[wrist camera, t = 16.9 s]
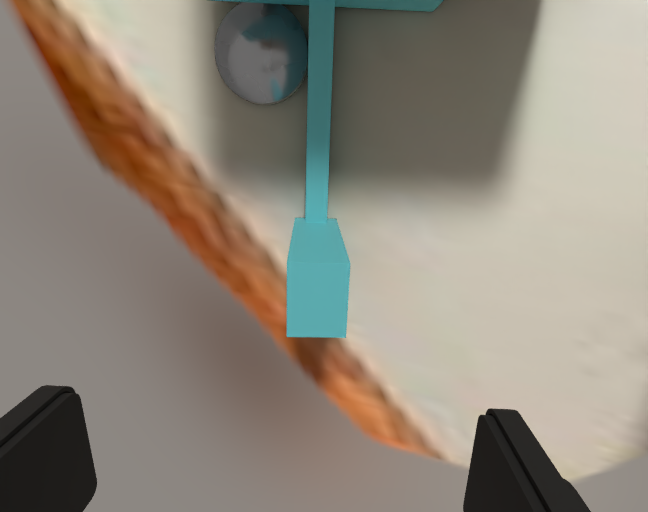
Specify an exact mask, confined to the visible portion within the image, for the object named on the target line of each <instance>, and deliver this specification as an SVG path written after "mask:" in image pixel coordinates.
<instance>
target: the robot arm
mask: <svg viewBox="0 0 648 512" xmlns="http://www.w3.org/2000/svg"><path fill="white" fill-rule="evenodd" d="M96 487H97V478H96V474H95V469H94V463H93V458H92V453H91V449H90V443H89V438H88V434H87V429H86V423H85V418H84V413H83V408H82V404H81V399H80V396H79V395H78V394H76V393H75V391H74V389H73V388H72V387H68V386H49V385H46V386H42V387H40V388H38V389H37V390H36V391H34V392H33V393H32V394H31V395H29V396H28V397H27V398H26V399H24V400H23V401H22V402H20V403H19V404H18V405H17V406H15V407H14V408H13V409H12V410H10V411H9V412H8V413H7V414H5V415H4V416H3V417H2V418H0V512H83V510H84V509H85V508H86V506H87V505H88V503H89V502H90V501H91V499H92V497H93V496H94V493H95V490H96ZM463 511H464V512H591V511H590V510H589V508H588V507H587V506H586V504H585V503H584V501H583V500H582V498H581V497H580V495H579V494H578V492H577V491H576V490H575V488H574V487H573V486H572V485H571V484H570V483H569V482H568V481H567V480H565V479H563V478H562V477H561V475H560V474H559V472H558V471H557V469H556V468H555V466H554V465H553V463H552V462H551V460H550V459H549V457H548V456H547V454H546V453H545V451H544V450H543V448H542V447H541V445H540V444H539V442H538V441H537V439H536V438H535V436H534V435H533V433H532V432H531V430H530V429H529V427H528V426H527V424H526V423H525V421H524V420H523V418H522V417H521V415H520V414H519V413H518V411H516V410H510V409H488V410H487V412H486V415H480V416H479V418H478V423H477V428H476V434H475V440H474V446H473V452H472V458H471V463H470V469H469V475H468V481H467V487H466V493H465V498H464V505H463Z"/></svg>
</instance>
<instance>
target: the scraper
mask: <svg viewBox="0 0 648 512" xmlns="http://www.w3.org/2000/svg"><path fill="white" fill-rule="evenodd" d="M212 1H231V2H251V3H271V4H290V5H309V43H308V99H307V154H306V210H305V218H295V222H294V227H293V233H292V238H291V243H290V249H289V254H288V259H287V337H340V338H346V328H347V311H348V294H349V277H350V261H349V258H348V255H347V251H346V248H345V245H344V242H343V239H342V236H341V232H340V229H339V226H338V223H337V220H336V219H328V218H327V205H328V178H329V151H330V123H331V96H332V69H333V41H334V14H335V7H349V8H368V9H388V10H408V11H427V12H433V11H434V10H435V9H436V8H437V7H438V6H439V5H440V4H441V3H442V2H443V1H444V0H212Z"/></svg>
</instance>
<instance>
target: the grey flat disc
mask: <svg viewBox="0 0 648 512" xmlns="http://www.w3.org/2000/svg"><path fill="white" fill-rule="evenodd" d="M215 59H216V64H217V67H218V70H219V72H220V75H221V77H222V78H223V80H224V82H225V83H226V84H227V86H228V87H229V88H230V89H231V90H232V91H233V92H234V93H236V94H237V95H238V96H240V97H242V98H243V99H245V100H247V101H249V102H252V103H255V104H261V105H270V104H276V103H279V102H281V101H283V100H285V99H287V98H288V97H290V96H291V95H292V94H293V93H295V91H296V90H297V89H298V88H299V86H300V85H301V83H302V82H303V80H304V78H305V75H306V72H307V68H308V44H307V40H306V37H305V34H304V31H303V29H302V27H301V25H300V23H299V21H298V20H297V19H296V17H295V16H294V15H293V14H292V13H291V12H290V11H289V10H288V9H287V8H286V7H284V6H283V5H281V4H271V3H251V2H242V3H240V4H238V5H237V6H235V7H234V8H233V9H231V10H230V11H229V12H228V13H227V15H226V16H225V17H224V19H223V20H222V22H221V24H220V26H219V28H218V31H217V34H216V39H215Z"/></svg>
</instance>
